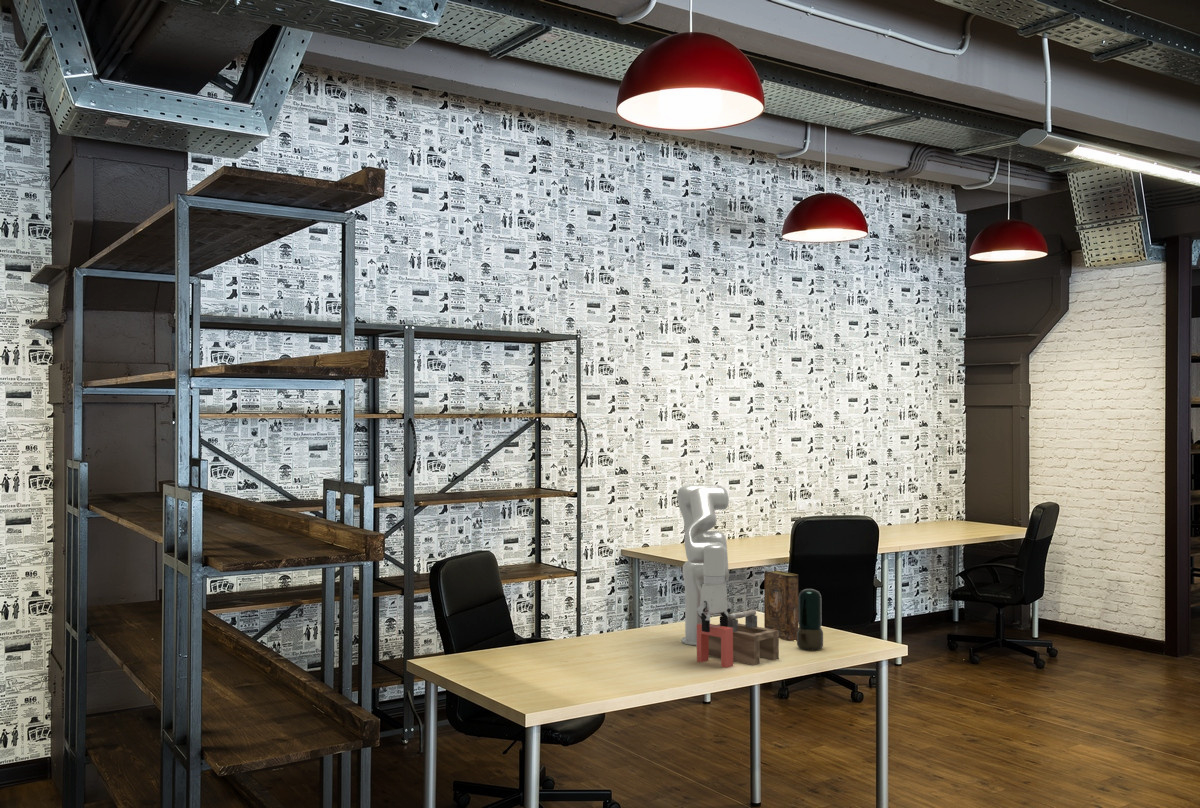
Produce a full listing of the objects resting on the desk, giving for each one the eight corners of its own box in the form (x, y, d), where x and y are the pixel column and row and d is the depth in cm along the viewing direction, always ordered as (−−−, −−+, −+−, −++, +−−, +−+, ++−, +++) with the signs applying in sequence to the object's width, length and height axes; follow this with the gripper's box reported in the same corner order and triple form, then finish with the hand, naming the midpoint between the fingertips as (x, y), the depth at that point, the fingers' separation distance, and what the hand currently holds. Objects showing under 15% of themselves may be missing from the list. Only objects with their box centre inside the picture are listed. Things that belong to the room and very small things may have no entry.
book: (800, 640, 386) (800, 575, 386) (788, 641, 383) (788, 576, 384) (775, 632, 400) (775, 569, 401) (764, 633, 398) (764, 570, 399)
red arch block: (704, 659, 353) (704, 622, 353) (733, 665, 343) (732, 628, 344) (696, 661, 350) (696, 624, 350) (725, 667, 341) (725, 629, 341)
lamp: (823, 651, 365) (823, 591, 365) (796, 650, 367) (796, 590, 367) (823, 646, 374) (822, 587, 375) (797, 645, 376) (796, 586, 377)
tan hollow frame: (730, 648, 370) (730, 605, 370) (778, 658, 354) (778, 613, 354) (705, 654, 360) (705, 610, 361) (754, 665, 344) (754, 618, 345)
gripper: (722, 577, 356) (722, 625, 355) (689, 581, 344) (690, 631, 343) (738, 579, 351) (739, 628, 350) (706, 583, 339) (706, 634, 338)
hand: (714, 629), depth 347 cm, fingers open, 9 cm apart
